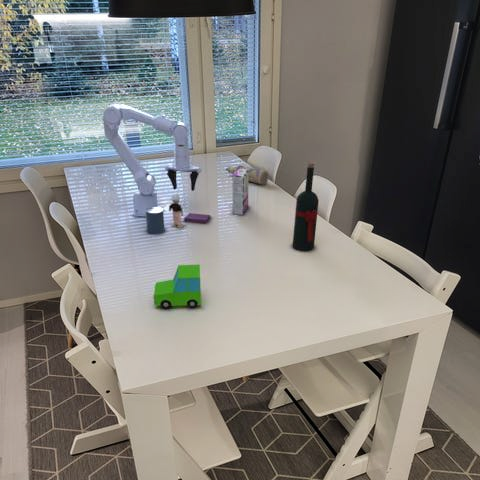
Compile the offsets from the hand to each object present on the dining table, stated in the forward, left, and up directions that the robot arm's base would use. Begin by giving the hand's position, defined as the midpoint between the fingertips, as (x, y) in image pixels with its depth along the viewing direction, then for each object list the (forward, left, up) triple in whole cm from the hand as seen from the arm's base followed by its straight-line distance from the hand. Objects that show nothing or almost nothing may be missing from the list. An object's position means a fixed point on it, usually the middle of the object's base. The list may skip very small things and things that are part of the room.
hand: (184, 189), depth 198 cm
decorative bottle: (+15, +56, -11) cm, 59 cm away
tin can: (-5, -21, -10) cm, 24 cm away
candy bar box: (+22, +10, -11) cm, 26 cm away
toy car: (+21, -71, -11) cm, 75 cm away
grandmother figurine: (+1, -14, -11) cm, 17 cm away
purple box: (+7, -5, -10) cm, 14 cm away
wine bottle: (+53, -23, -11) cm, 58 cm away
